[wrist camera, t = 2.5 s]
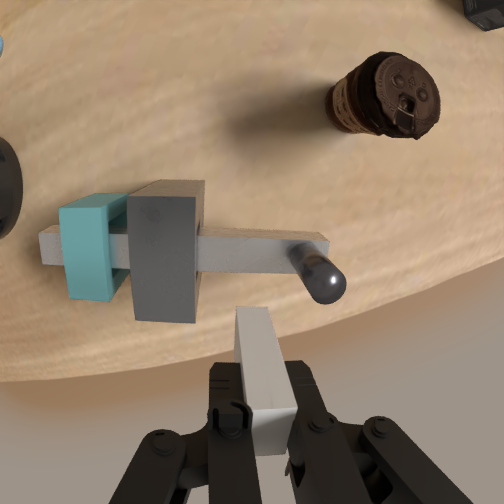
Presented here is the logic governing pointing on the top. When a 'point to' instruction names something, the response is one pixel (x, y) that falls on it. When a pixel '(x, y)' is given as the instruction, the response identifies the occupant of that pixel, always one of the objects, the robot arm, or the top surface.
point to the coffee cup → (385, 98)
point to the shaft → (236, 255)
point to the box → (485, 13)
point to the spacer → (92, 245)
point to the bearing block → (165, 249)
